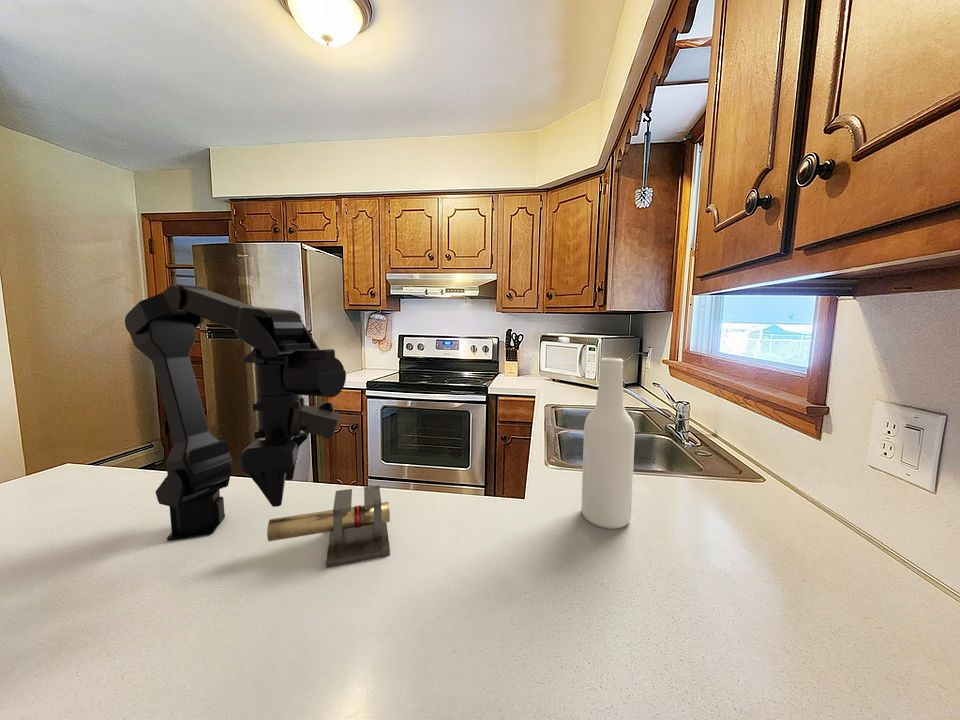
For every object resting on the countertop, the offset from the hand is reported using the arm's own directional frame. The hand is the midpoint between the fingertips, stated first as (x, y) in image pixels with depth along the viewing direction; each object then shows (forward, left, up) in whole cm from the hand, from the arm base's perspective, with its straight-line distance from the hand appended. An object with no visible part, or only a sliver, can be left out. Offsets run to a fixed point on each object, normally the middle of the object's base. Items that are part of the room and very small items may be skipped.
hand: (283, 491), depth 55 cm
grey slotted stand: (+11, 0, -10) cm, 15 cm away
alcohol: (+55, -7, -10) cm, 56 cm away
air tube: (+7, 0, -8) cm, 10 cm away
